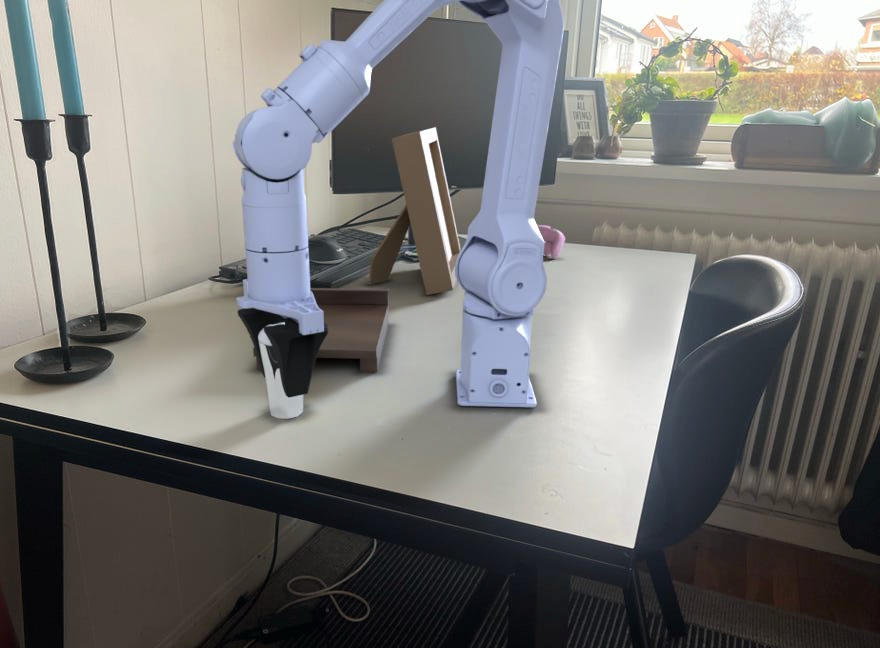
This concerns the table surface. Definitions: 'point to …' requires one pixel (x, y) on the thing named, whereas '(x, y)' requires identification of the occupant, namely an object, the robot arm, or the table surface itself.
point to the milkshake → (277, 383)
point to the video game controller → (551, 240)
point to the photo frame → (422, 214)
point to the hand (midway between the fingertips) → (285, 385)
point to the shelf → (352, 324)
